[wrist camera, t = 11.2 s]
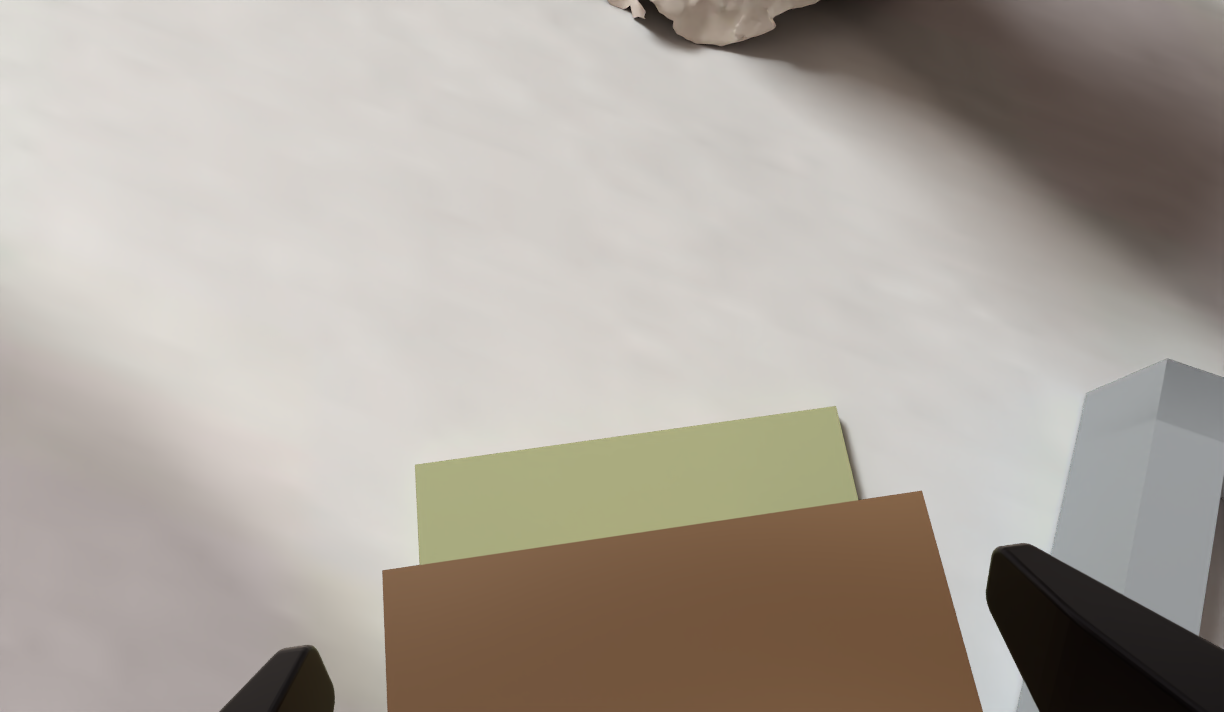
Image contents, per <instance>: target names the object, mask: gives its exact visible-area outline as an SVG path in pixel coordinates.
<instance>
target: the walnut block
mask: <svg viewBox="0 0 1224 712" xmlns="http://www.w3.org/2000/svg"><path fill="white" fill-rule="evenodd" d="M382 574H383V601H384V628H385V654H386V681H387V708H388V712H983V711H982V707H981V703H980V700H979V696H978V692H977V689H976V685H975V682H974V678H973V674H972V671H971V667H970V663H969V660H968V656H967V653H966V649H965V645H964V642H963V638H962V634H961V631H960V627H959V624H958V620H957V616H956V613H955V609H954V606H953V602H952V598H951V595H950V591H949V587H948V584H947V580H946V577H945V573H944V569H943V566H942V562H941V558H940V555H939V551H938V548H937V544H936V540H935V537H934V533H933V529H932V526H931V522H930V519H929V515H928V511H927V508H926V504H925V500H924V497H923V493H922V491H917V492H910V493H903V494H897V495H890V496H883V497H876V498H869V499H863V500H856V501H849V502H842V503H836V504H829V505H822V506H815V507H809V508H802V509H795V510H788V511H782V512H775V513H768V514H761V515H755V516H748V517H741V518H734V519H727V520H721V521H714V522H707V523H700V524H694V525H687V526H680V527H673V528H667V529H660V530H653V531H646V532H640V533H633V534H626V535H619V536H613V537H606V538H599V539H592V540H585V541H579V542H572V543H565V544H558V545H552V546H545V547H538V548H531V549H525V550H518V551H511V552H504V553H498V554H491V555H484V556H477V557H471V558H464V559H457V560H450V561H443V562H437V563H430V564H423V565H416V566H410V567H403V568H396V569H389V570H383V571H382Z"/></svg>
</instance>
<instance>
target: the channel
mask: <svg viewBox="0 0 1224 712" xmlns="http://www.w3.org/2000/svg"><path fill="white" fill-rule="evenodd" d="M1220 498H1223V499H1224V377H1221V376H1218V375H1215V374H1212V373H1209V372H1206V371H1203V370H1200V369H1197V368H1194V367H1191V366H1188V365H1185V364H1182V363H1179V362H1176V361H1173V360H1171V359H1168V358H1167V359H1165V360H1163V361H1160V362H1158V363H1156V364H1153V365H1151V366H1149V367H1146V368H1144V369H1142V370H1139V371H1137V372H1135V373H1132V374H1130V375H1128V376H1125V377H1123V378H1120V379H1118V380H1116V381H1113V382H1111V383H1109V384H1106V385H1104V386H1102V387H1099V388H1097V389H1095V390H1092V391H1090V392H1088V393H1086V398H1085V402H1084V407H1083V411H1082V416H1081V421H1080V425H1079V430H1078V434H1077V439H1076V443H1075V448H1074V452H1073V457H1072V462H1071V466H1070V471H1069V475H1068V480H1067V484H1066V489H1065V493H1064V498H1063V503H1062V507H1061V512H1060V516H1059V521H1058V525H1057V530H1056V534H1055V539H1054V544H1053V548H1052V553H1051V556H1053V557H1055V558H1057V559H1059V560H1060V561H1062V562H1064V563H1066V564H1068V565H1070V566H1071V567H1073V568H1075V569H1077V570H1079V571H1081V572H1082V573H1084V574H1086V575H1088V576H1090V577H1092V578H1093V579H1095V580H1097V581H1099V582H1101V583H1103V584H1104V585H1106V586H1108V587H1110V588H1112V589H1114V590H1115V591H1117V592H1119V593H1121V594H1123V595H1125V596H1126V597H1128V598H1130V599H1132V600H1134V601H1136V602H1137V603H1139V604H1141V605H1143V606H1145V607H1146V608H1148V609H1150V610H1152V611H1154V612H1156V613H1157V614H1159V615H1161V616H1163V617H1165V618H1167V619H1168V620H1170V621H1172V622H1174V623H1176V624H1178V625H1179V626H1181V627H1183V628H1185V629H1187V630H1189V631H1190V632H1192V633H1194V634H1196V635H1198V636H1199V631H1200V625H1201V618H1202V612H1203V606H1204V599H1205V593H1206V586H1207V580H1208V573H1209V567H1210V560H1211V554H1212V548H1213V541H1214V535H1215V528H1216V522H1217V515H1218V509H1219V502H1220ZM1017 712H1039V710H1038V708H1037V706H1036V704H1035V702H1034V700H1033V698H1032V696H1031V694H1030V692H1029V690H1028V688H1027V686H1026V684H1025V682H1024V680H1023V685H1022V689H1021V694H1020V698H1019V703H1018V707H1017Z"/></svg>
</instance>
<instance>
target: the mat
mask: <svg viewBox="0 0 1224 712" xmlns="http://www.w3.org/2000/svg"><path fill="white" fill-rule="evenodd" d="M415 476H416V498H417V519H418V541H419V562H420V565H423V564H430V563H437V562H443V561H450V560H457V559H464V558H471V557H477V556H484V555H491V554H498V553H504V552H511V551H518V550H525V549H531V548H538V547H545V546H552V545H558V544H565V543H572V542H579V541H585V540H592V539H599V538H606V537H613V536H619V535H626V534H633V533H640V532H646V531H653V530H660V529H667V528H673V527H680V526H687V525H694V524H700V523H707V522H714V521H721V520H727V519H734V518H741V517H748V516H755V515H761V514H768V513H775V512H782V511H788V510H795V509H802V508H809V507H815V506H822V505H829V504H836V503H842V502H849V501H856V500H858V496H857V492H856V488H855V484H854V479H853V475H852V471H851V467H850V463H849V459H848V454H847V450H846V446H845V442H844V438H843V434H842V429H841V425H840V421H839V417H838V413H837V409H836V406H833V407H826V408H819V409H812V410H805V411H798V412H790V413H783V414H776V415H769V416H762V417H755V418H747V419H740V420H733V421H726V422H719V423H711V424H704V425H697V426H690V427H683V428H676V429H668V430H661V431H654V432H647V433H640V434H633V435H625V436H618V437H611V438H604V439H597V440H589V441H582V442H575V443H568V444H561V445H554V446H546V447H539V448H532V449H525V450H518V451H511V452H503V453H496V454H489V455H482V456H475V457H468V458H460V459H453V460H446V461H439V462H432V463H424V464H417V465H415Z"/></svg>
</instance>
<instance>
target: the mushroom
mask: <svg viewBox="0 0 1224 712" xmlns="http://www.w3.org/2000/svg"><path fill="white" fill-rule="evenodd" d="M608 1H609V3H610V4H611V5H613V6H616V7H620V8H622V9H626V8H627V7H628V6H631V11H632V15H633V18H635V17H641V18H644V15H645V12H646V11H645V10H644V8H643V7H642V5H641V4H640V3H639V0H608ZM650 1H652V2H653V3H654V4H655V5H656V7H657V9H658V11H659V13H661V14H664V15H665V16H666V17H667V18H669V19H671V20H673V29H674V30H675V32H676V33H677V34H678V35H680V36H683V37H684V38H685V39H686V40H690V41H692V42H694V43H696V44H715V45H718V46H724V45H727V44H731V43H735V42H740V41H744V40H746V39H749V38H751V37H756V36H759V35H761V34H764V33H766V32H768V31H771V30H773V29H774V28H775V27H776V24H775V22H774V21H773V18H774V16H777V15H779V14H781V13H783V12H785V11H787V10H789V9H795V8H797V7H798V8H801V7H804V6H807V5H811V4H815V3H816V2H818V1H820V0H650ZM644 19H645V18H644Z"/></svg>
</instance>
